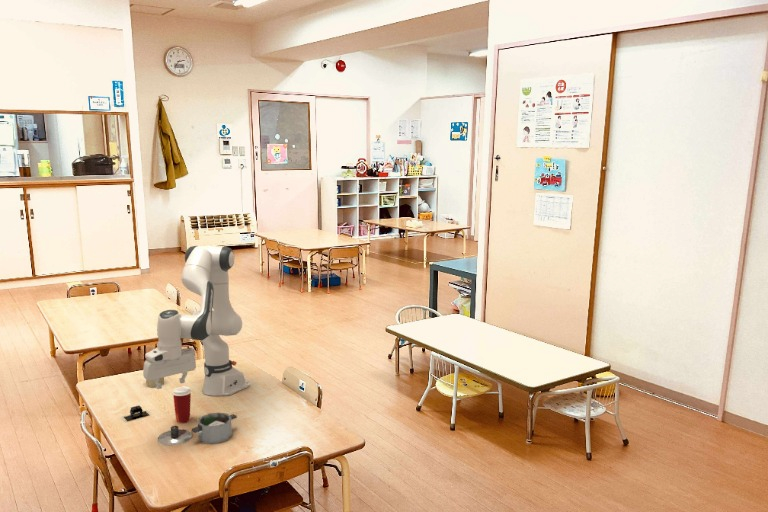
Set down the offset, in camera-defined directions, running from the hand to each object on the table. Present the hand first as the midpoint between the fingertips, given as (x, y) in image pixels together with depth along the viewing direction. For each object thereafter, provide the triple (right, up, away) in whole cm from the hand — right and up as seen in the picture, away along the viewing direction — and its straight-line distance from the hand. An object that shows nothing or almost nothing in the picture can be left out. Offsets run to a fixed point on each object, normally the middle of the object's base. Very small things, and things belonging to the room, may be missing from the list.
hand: (170, 385), depth 234 cm
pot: (+16, -21, +5) cm, 27 cm away
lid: (+1, -22, +3) cm, 22 cm away
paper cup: (-1, -19, +18) cm, 26 cm away
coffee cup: (-28, -12, +55) cm, 63 cm away
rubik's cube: (+17, -22, +5) cm, 28 cm away
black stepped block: (-22, -19, +21) cm, 36 cm away
